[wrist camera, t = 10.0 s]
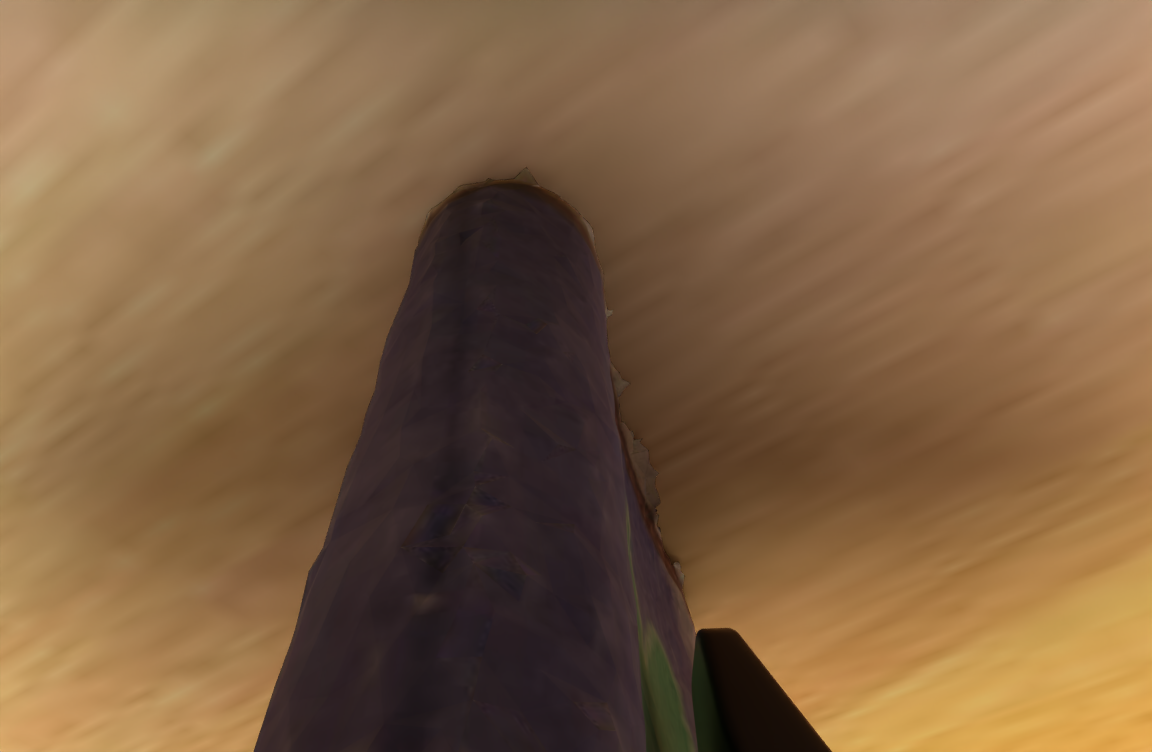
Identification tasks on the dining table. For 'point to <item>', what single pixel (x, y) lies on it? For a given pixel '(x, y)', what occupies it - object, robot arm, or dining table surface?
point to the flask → (493, 519)
